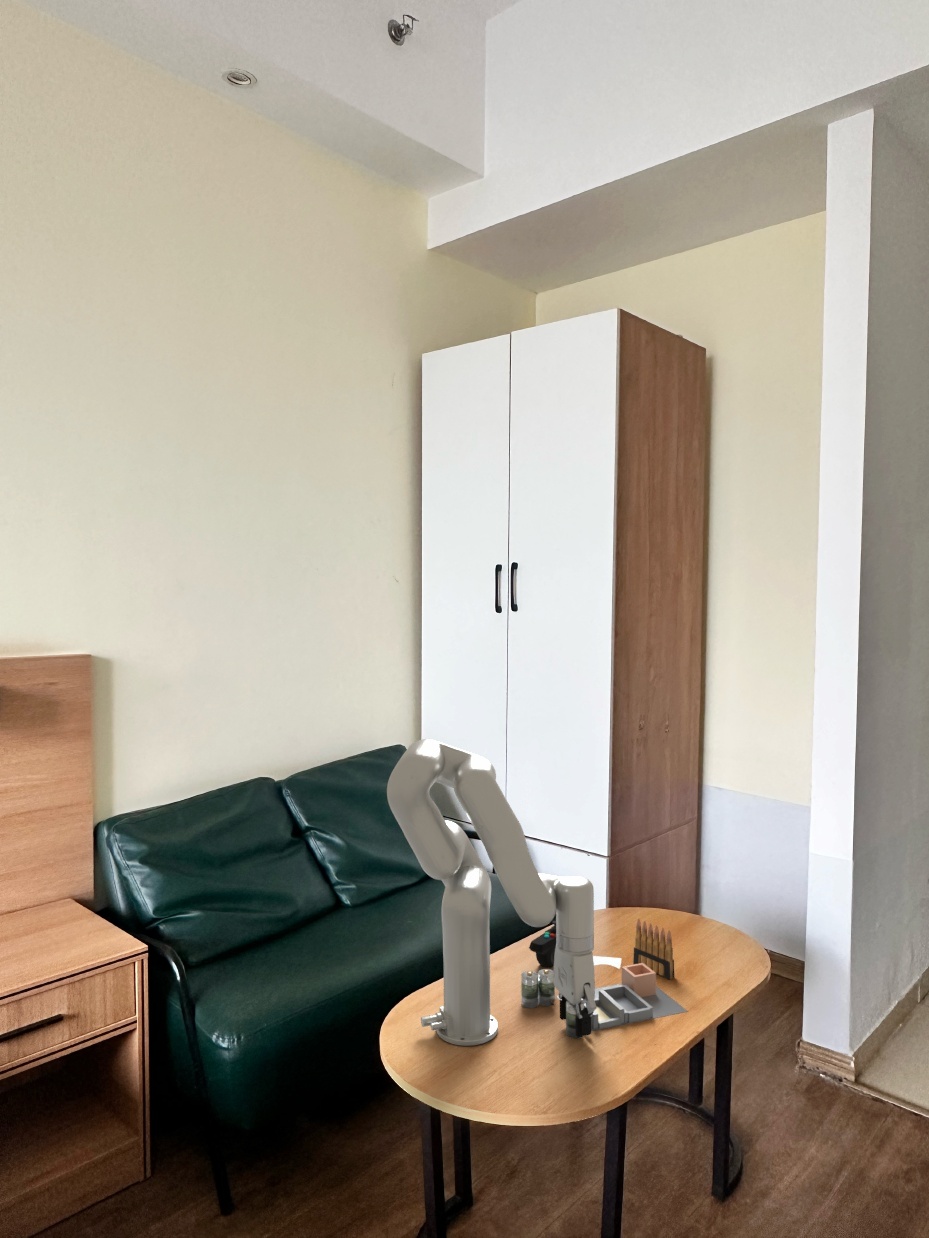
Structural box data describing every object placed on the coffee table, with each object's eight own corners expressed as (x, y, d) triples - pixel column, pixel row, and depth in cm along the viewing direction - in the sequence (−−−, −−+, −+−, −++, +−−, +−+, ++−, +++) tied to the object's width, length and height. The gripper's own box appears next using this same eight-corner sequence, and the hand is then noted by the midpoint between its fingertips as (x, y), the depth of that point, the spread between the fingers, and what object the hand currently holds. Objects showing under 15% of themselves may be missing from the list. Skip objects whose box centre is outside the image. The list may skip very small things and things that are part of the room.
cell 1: (525, 1009, 190) (525, 977, 190) (518, 1001, 193) (518, 969, 193) (541, 1006, 191) (541, 974, 191) (534, 998, 195) (533, 967, 194)
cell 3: (571, 1039, 178) (571, 1005, 177) (562, 1031, 181) (562, 997, 181) (587, 1036, 179) (587, 1002, 178) (578, 1027, 182) (578, 994, 182)
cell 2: (542, 1007, 191) (542, 975, 190) (535, 999, 194) (535, 968, 194) (557, 1004, 192) (557, 972, 192) (550, 996, 195) (550, 965, 195)
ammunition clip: (632, 968, 209) (632, 918, 209) (637, 965, 210) (638, 916, 210) (669, 984, 201) (670, 932, 200) (674, 981, 202) (675, 930, 202)
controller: (570, 960, 213) (570, 920, 213) (542, 979, 204) (542, 937, 203) (555, 956, 216) (555, 915, 215) (526, 974, 206) (526, 932, 206)
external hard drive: (623, 964, 212) (622, 988, 200) (588, 961, 214) (585, 985, 202) (623, 958, 212) (622, 981, 200) (588, 955, 214) (585, 978, 202)
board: (590, 1036, 179) (590, 1016, 179) (555, 1000, 194) (555, 982, 194) (688, 1015, 187) (688, 997, 186) (647, 982, 202) (647, 965, 202)
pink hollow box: (634, 998, 192) (634, 976, 192) (621, 987, 197) (621, 966, 197) (655, 994, 194) (655, 972, 194) (642, 983, 199) (642, 962, 199)
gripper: (539, 926, 186) (540, 1010, 187) (578, 960, 169) (578, 1051, 170) (572, 921, 188) (572, 1003, 189) (612, 954, 172) (612, 1044, 173)
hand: (575, 1025), depth 180 cm, fingers open, 6 cm apart
